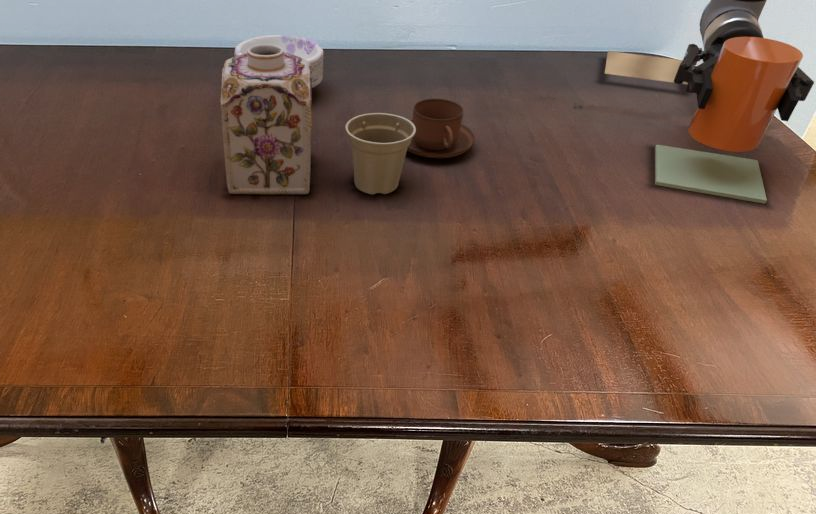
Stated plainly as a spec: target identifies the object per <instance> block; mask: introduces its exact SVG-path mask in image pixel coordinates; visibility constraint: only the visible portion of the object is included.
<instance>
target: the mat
mask: <svg viewBox="0 0 816 514" xmlns="http://www.w3.org/2000/svg"><path fill="white" fill-rule="evenodd" d="M654 185H655V186H659V187H665V188H671V189H676V190H683V191H689V192H693V193H700V194H704V195H705V194H706V195H711V196H716V197H717V196H718V197H722V198H729V199H735V200H739V201H746V202H753V203H758V204H763V205H764V204H766V203H767V201H768V198H767V194H766V190H765V186H764V182H763V177H762V172H761V169H760V165H759V161H758V159H752V158H746V157H739V156H733V155H727V154H720V153H714V152H708V151H701V150H694V149H689V148H682V147H675V146H670V145H663V144H656V145H655V147H654Z"/></svg>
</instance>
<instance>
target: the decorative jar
mask: <svg viewBox="0 0 816 514" xmlns="http://www.w3.org/2000/svg"><path fill="white" fill-rule="evenodd" d="M311 74H312V71H311V65H310V62H309V61H307V60H305V59H303V58H301V57H298V56H296V55H292V54H290V53H286V52H284V51H283V49H282V48H281V47H279V46H276V45H270V44H260V45H255V46H253V47H250V48H249V49H248V50H247V53H246V54H242V55H237V56H235V55H234V56H233V57H230V58H227V59H226V60H225V61H224V64H223V67H222V69H221V80H220V83H221V87H220V101H219V102H218V103H219V105H220V112H221V126H222V140H223V152H224V153H223V154H224V165H225V166H224V167H225V175H226V176H225V177H226V186H227V190H228V193H229V194H230V195H308V194H309V193H310V188H311V187H310V185H311V161H312V160H311V157H312V153H311V151H312V150H311V149H312V147H311V140H312V133H313V125H314V120H313V117H312V116H313V115H312V99H313V97H312V94H313V88H312V77H311Z"/></svg>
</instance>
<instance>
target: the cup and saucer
mask: <svg viewBox="0 0 816 514" xmlns="http://www.w3.org/2000/svg"><path fill="white" fill-rule="evenodd" d="M463 116H464V108H463V106H462V105H460V104H459V103H458V102H455V101H453V100H451V99H450V100H449V99H445V98H426V99H421V100H419V101H418V102H416V103H415V104H414V105H413V110H412V119H411V120H410V121H411V122H412V123H413V124H414V125H415V127H416V133H415V135H414V137H413V138H412V139H411V143H410V145H409V146H408V148H407V151H406V152H408V153H411V154H413V155H415V156H419V157H422V158H427V159H450V158H455V157H457V156H461V155H463V154H465V153H466V152H468V151H469V150H470V149H471V148H472V147H473V145H474V143H475V139H476V138H475V135H474V133H473V131H472V130H471V129H470V128H468V127H467V126H466V125H463V124H462V121H463Z"/></svg>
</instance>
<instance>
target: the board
mask: <svg viewBox="0 0 816 514" xmlns="http://www.w3.org/2000/svg"><path fill="white" fill-rule="evenodd" d="M682 61H683V59H677V58H668V57H660V56H651V55H645V54H635V53H630V52H629V53H628V52H621V51H612V50H607V54H606V62H605V67H604V74H605V75H613V76H619V77H627V78H636V79H643V80H650V81H658V82H664V83H665V82H667V83H674V79H675V76H676V73H677V71H678V68H679V66H680V63H681V62H682ZM674 84H675V83H674ZM681 85H686V86H687V85H688V83H687V82H683V83H682V84H681Z"/></svg>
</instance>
